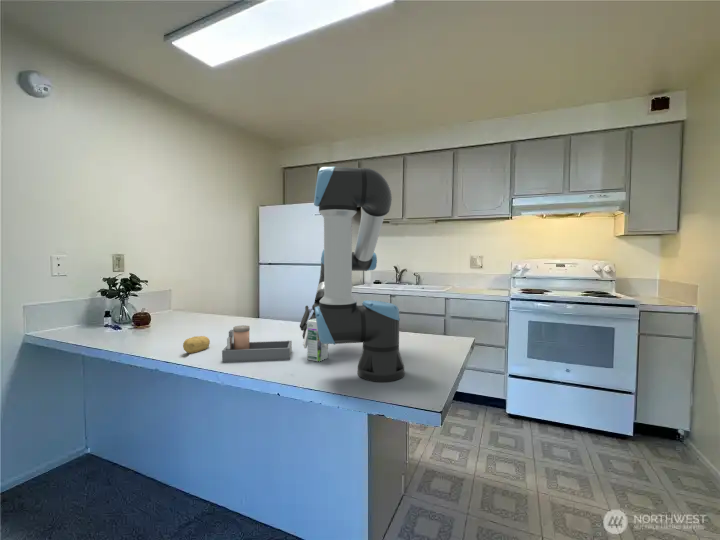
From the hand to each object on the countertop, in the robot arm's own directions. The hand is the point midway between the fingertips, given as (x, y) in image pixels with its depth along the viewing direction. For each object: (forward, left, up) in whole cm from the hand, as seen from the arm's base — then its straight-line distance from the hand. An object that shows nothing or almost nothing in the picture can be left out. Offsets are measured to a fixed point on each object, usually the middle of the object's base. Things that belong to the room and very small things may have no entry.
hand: (315, 346), depth 121 cm
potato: (+18, +46, -6) cm, 50 cm away
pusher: (+6, +30, -4) cm, 31 cm away
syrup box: (+3, -1, -6) cm, 7 cm away
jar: (+6, +27, -5) cm, 28 cm away
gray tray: (+6, +21, -6) cm, 22 cm away
